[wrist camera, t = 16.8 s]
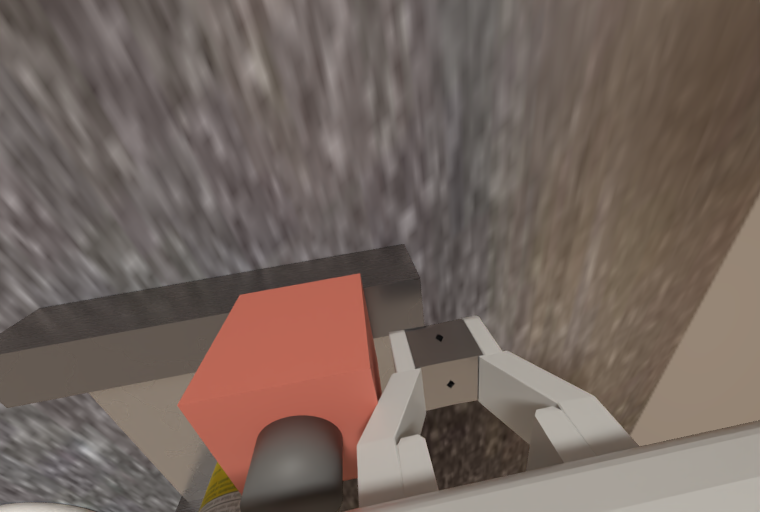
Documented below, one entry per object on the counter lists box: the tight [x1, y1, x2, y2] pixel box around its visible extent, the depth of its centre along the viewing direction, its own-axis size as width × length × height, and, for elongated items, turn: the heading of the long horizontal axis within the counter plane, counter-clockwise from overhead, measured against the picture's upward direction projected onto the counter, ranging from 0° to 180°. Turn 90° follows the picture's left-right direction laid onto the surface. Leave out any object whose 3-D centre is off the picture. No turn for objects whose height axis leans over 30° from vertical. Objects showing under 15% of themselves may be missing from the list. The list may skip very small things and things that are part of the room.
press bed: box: [0, 244, 424, 512], centre depth 12 cm, size 16×17×10 cm
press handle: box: [177, 273, 382, 512], centre depth 8 cm, size 4×4×5 cm
